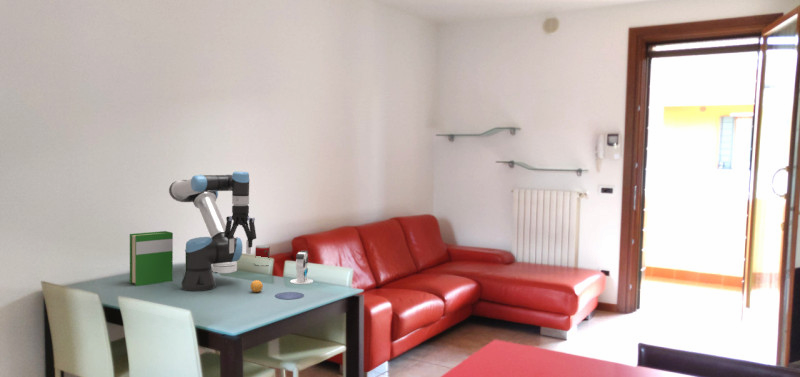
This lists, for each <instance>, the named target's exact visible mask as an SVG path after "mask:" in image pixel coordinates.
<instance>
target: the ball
mask: <svg viewBox="0 0 800 377" xmlns="http://www.w3.org/2000/svg"><path fill="white" fill-rule="evenodd" d="M263 287H264V285H263V283H262V281H260V280H257V279H255V280H253V281H251V283H250V290H251V291H252V292H253V293H260V292H261V291H262V290H263Z"/></svg>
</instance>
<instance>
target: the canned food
mask: <svg viewBox="0 0 800 377" xmlns="http://www.w3.org/2000/svg"><path fill="white" fill-rule="evenodd" d="M270 250H271V249H270V245H269V244H268V245H267V244H258V245H255V257H256V256H261V257H268V258H270Z"/></svg>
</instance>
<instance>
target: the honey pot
mask: <svg viewBox="0 0 800 377" xmlns="http://www.w3.org/2000/svg"><path fill="white" fill-rule="evenodd" d="M237 270H238V261H235V262H227V263H217V264H212V271H213V272H212V273H215V272H218V273H217V274H229V273H235V272H237Z"/></svg>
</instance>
